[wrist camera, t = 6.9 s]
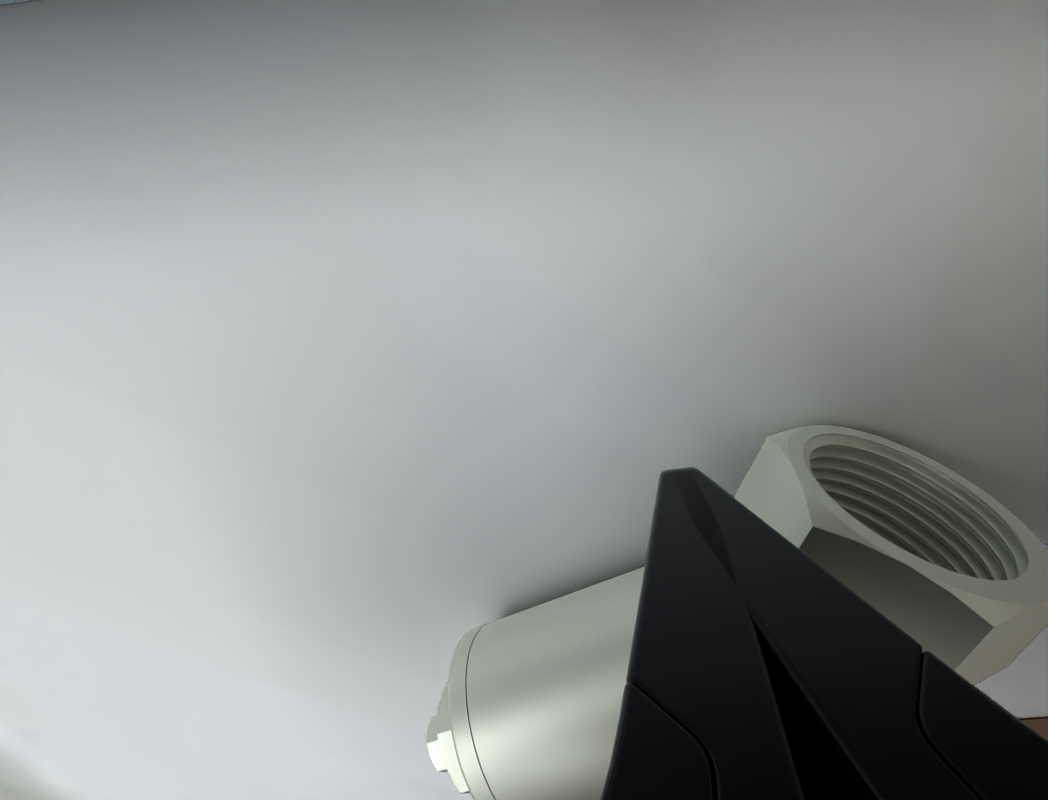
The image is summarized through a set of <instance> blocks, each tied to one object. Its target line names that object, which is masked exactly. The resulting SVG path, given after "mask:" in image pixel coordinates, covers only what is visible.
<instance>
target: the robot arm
mask: <svg viewBox="0 0 1048 800" xmlns="http://www.w3.org/2000/svg"><path fill="white" fill-rule="evenodd" d="M922 652H923V648H922V645H921V644H920V643H918V642H917V641H916V640H914V639H913V638H912V637H911V636H909V635H908V634H907V633H906V632H904V631H903V630H902V629H900V628H899V627H898V626H897V625H895V624H894V623H893V622H892V621H890V620H889V619H888V618H886V617H885V616H884V615H883V614H881V613H880V612H879V611H878V610H876V609H875V608H874V607H872V606H871V605H870V604H869V603H867V602H866V601H865V600H864V599H862V598H861V597H860V596H859V595H857V594H856V593H855V592H853V591H852V590H851V589H850V588H848V587H847V586H846V585H845V584H843V583H842V582H841V581H839V580H838V579H837V578H836V577H834V576H833V575H832V574H831V573H829V572H828V571H827V570H825V569H824V568H823V567H822V566H820V565H819V564H818V563H817V562H815V561H814V560H813V559H811V558H810V557H809V556H808V555H806V554H805V553H804V552H803V551H801V550H800V549H799V548H798V547H796V546H795V545H794V544H792V543H791V542H790V541H789V540H787V539H786V538H785V537H784V536H782V535H781V534H780V533H778V532H777V531H776V530H775V529H773V528H772V527H771V526H770V525H768V524H767V523H766V522H764V521H763V520H762V519H761V518H759V517H758V516H757V515H756V514H754V513H753V512H752V511H750V510H749V509H748V508H747V507H745V506H744V505H743V504H742V503H740V502H739V501H738V500H737V499H735V498H734V497H733V496H731V495H730V494H729V493H728V492H726V491H725V490H724V489H723V488H721V487H720V486H719V485H717V484H716V483H715V482H714V481H712V480H711V479H710V478H709V477H707V476H706V475H705V474H703V473H702V472H701V471H700V470H698V469H696V468H694V467H688V468H680V469H672V470H665V471H663V472H661V474H660V478H659V484H658V490H657V496H656V502H655V508H654V514H653V520H652V526H651V532H650V538H649V544H648V550H647V556H646V562H645V568H644V574H643V580H642V586H641V592H640V598H639V604H638V610H637V616H636V622H635V628H634V634H633V640H632V646H631V652H630V658H629V664H628V670H627V677H626V685H625V687H624V692H623V698H622V704H621V710H620V716H619V722H618V726H617V731H616V736H615V741H614V746H613V750H612V755H611V760H610V765H609V769H608V772H607V776H606V779H605V783H604V786H603V790H602V793H601V797H600V800H1048V739H1046V738H1045V737H1043V736H1042V735H1041V734H1039V733H1038V732H1036V731H1035V730H1033V729H1032V728H1031V727H1029V726H1028V725H1026V724H1025V723H1023V722H1022V721H1020V720H1019V719H1018V718H1016V717H1015V716H1014V715H1012V714H1011V713H1010V712H1008V711H1007V710H1006V709H1004V708H1003V707H1002V706H1000V705H999V704H998V703H996V702H995V701H994V700H992V699H991V698H990V697H988V696H987V695H986V694H984V693H983V692H982V691H980V690H979V689H978V688H977V687H975V686H974V685H973V684H971V683H970V682H969V681H967V680H966V679H965V678H963V677H962V676H961V675H959V674H958V673H957V672H956V671H954V670H953V669H952V668H950V667H949V666H948V665H947V664H945V663H944V662H943V661H942V660H940V659H939V658H938V657H937V656H935V655H934V654H933V653H931V652H930V651H924V652H923V653H922Z"/></svg>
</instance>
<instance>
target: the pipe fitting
mask: <svg viewBox="0 0 1048 800" xmlns="http://www.w3.org/2000/svg"><path fill="white" fill-rule="evenodd" d="M734 498H735V499H737V500H738V501H739V502H740V503H742V504H743V505H744V506H745V507H747V508H748V509H749V510H750V511H752V512H753V513H754V514H756V515H757V516H758V517H759V518H761V519H762V520H763V521H764V522H766V523H767V524H768V525H770V526H771V527H772V528H773V529H775V530H776V531H777V532H778V533H780V534H781V535H782V536H784V537H785V538H786V539H787V540H789V541H790V542H791V543H792V544H794V545H795V546H796V547H798V548H799V549H800V550H801V551H803V552H804V553H805V554H806V555H808V556H809V557H810V558H811V559H813V560H814V561H815V562H817V563H818V564H819V565H820V566H822V567H823V568H824V569H825V570H827V571H828V572H829V573H831V574H832V575H833V576H834V577H836V578H837V579H838V580H839V581H841V582H842V583H843V584H845V585H846V586H847V587H848V588H850V589H851V590H852V591H853V592H855V593H856V594H857V595H859V596H860V597H861V598H862V599H864V600H865V601H866V602H867V603H869V604H870V605H871V606H872V607H874V608H875V609H876V610H878V611H879V612H880V613H881V614H883V615H884V616H885V617H886V618H888V619H889V620H890V621H892V622H893V623H894V624H895V625H897V626H898V627H899V628H900V629H902V630H903V631H904V632H906V633H907V634H908V635H909V636H911V637H912V638H913V639H914V640H916V641H917V642H918V643H920V644H921V645H922V648H923V652H924V651H930V652H931V653H933V654H934V655H935V656H937V657H938V658H939V659H940V660H942V661H943V662H944V663H945V664H947V665H948V666H949V667H950V668H952V669H953V670H954V671H956V672H957V673H958V674H959V675H961V676H962V677H963V678H965V679H966V680H967V681H969V682H970V683H971V684H973V685H975V684H977V683H979V682H981V681H983V680H985V679H986V678H988V677H990V676H991V675H993V674H995V673H997V672H998V671H1000V670H1002V669H1003V668H1005V667H1007V666H1008V665H1009V664H1010V663H1011V662H1012V661H1013V660H1014V659H1015V658H1016V657H1017V656H1018V655H1019V654H1020V653H1021V652H1022V651H1023V650H1024V649H1025V648H1026V647H1027V646H1028V645H1029V644H1030V643H1031V642H1032V640H1033V639H1034V638H1035V637H1036V636H1037V635H1038V634H1039V633H1040V632H1041V631H1042V630H1043V629H1044V628H1045V627H1046V626H1047V625H1048V550H1047V549H1046V547H1045V546H1044V545H1043V543H1042V542H1041V541H1040V540H1039V539H1038V538H1037V536H1036V535H1035V534H1034V533H1033V532H1032V531H1031V530H1030V529H1029V528H1028V527H1027V526H1026V525H1025V524H1024V523H1023V522H1022V521H1021V520H1020V519H1019V518H1017V517H1016V516H1015V515H1014V514H1013V513H1012V512H1011V511H1010V510H1008V509H1007V508H1006V507H1005V506H1003V505H1002V504H1001V503H1000V502H998V501H997V500H996V499H994V498H993V497H992V496H990V495H989V494H988V493H986V492H985V491H983V490H982V489H981V488H979V487H978V486H976V485H975V484H973V483H971V482H970V481H968V480H967V479H965V478H964V477H962V476H960V475H959V474H957V473H955V472H954V471H952V470H950V469H949V468H947V467H945V466H943V465H941V464H940V463H938V462H936V461H934V460H932V459H930V458H928V457H926V456H924V455H922V454H920V453H918V452H916V451H914V450H912V449H909V448H907V447H905V446H902V445H900V444H898V443H895V442H893V441H890V440H887V439H885V438H882V437H879V436H876V435H873V434H870V433H866V432H863V431H859V430H855V429H851V428H846V427H840V426H832V425H812V426H805V427H799V428H793V429H790V430H786V431H782V432H779V433H776V434H773V435H769V436H767V438H766V440H765V441H764V443H763V445H762V447H761V449H760V451H759V452H758V454H757V456H756V458H755V460H754V462H753V463H752V465H751V467H750V469H749V471H748V472H747V474H746V476H745V478H744V480H743V482H742V483H741V485H740V487H739V489H738V491H737V492H736V494H735V496H734ZM644 568H645V566H644V567H642V568H639V569H636V570H633V571H631V572H628V573H625V574H622V575H620V576H617V577H614V578H611V579H609V580H606V581H603V582H600V583H598V584H595V585H592V586H589V587H587V588H584V589H581V590H578V591H576V592H573V593H570V594H567V595H565V596H562V597H559V598H556V599H554V600H551V601H548V602H545V603H543V604H540V605H537V606H534V607H532V608H529V609H526V610H523V611H521V612H518V613H515V614H512V615H510V616H507V617H504V618H501V619H499V620H496V621H493V622H491V623H488V624H485V625H482V626H479V627H477V628H474V629H472V630H470V631H469V632H467V633H466V634H465V635H464V636H463V638H462V639H461V640H460V642H459V644H458V646H457V648H456V650H455V653H454V656H453V659H452V663H451V668H450V674H449V682H447V683H446V686H445V688H444V691H443V694H442V697H441V700H440V704H439V708H438V715H437V716H435V717H432V719H431V722H430V724H429V728H428V733H427V747H428V752H429V755H430V758H431V760H432V762H433V764H434V766H435V767H436V769H437V771H439V772H449V774H450V776H451V778H452V780H453V782H454V783H455V785H456V787H457V788H458V790H459V791H460V793H471V795H472V797H473V799H474V800H600V797H601V793H602V790H603V786H604V783H605V779H606V776H607V772H608V769H609V765H610V760H611V755H612V750H613V746H614V741H615V736H616V731H617V726H618V722H619V716H620V710H621V704H622V698H623V692H624V687H625V685H626V677H627V670H628V664H629V658H630V652H631V646H632V640H633V634H634V628H635V622H636V616H637V610H638V604H639V598H640V592H641V586H642V580H643V574H644ZM923 652H922V653H923Z"/></svg>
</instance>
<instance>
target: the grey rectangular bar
mask: <svg viewBox="0 0 1048 800" xmlns="http://www.w3.org/2000/svg"><path fill="white" fill-rule="evenodd" d="M25 1H32V0H0V5H4V4H11V3H18V2H25Z"/></svg>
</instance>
